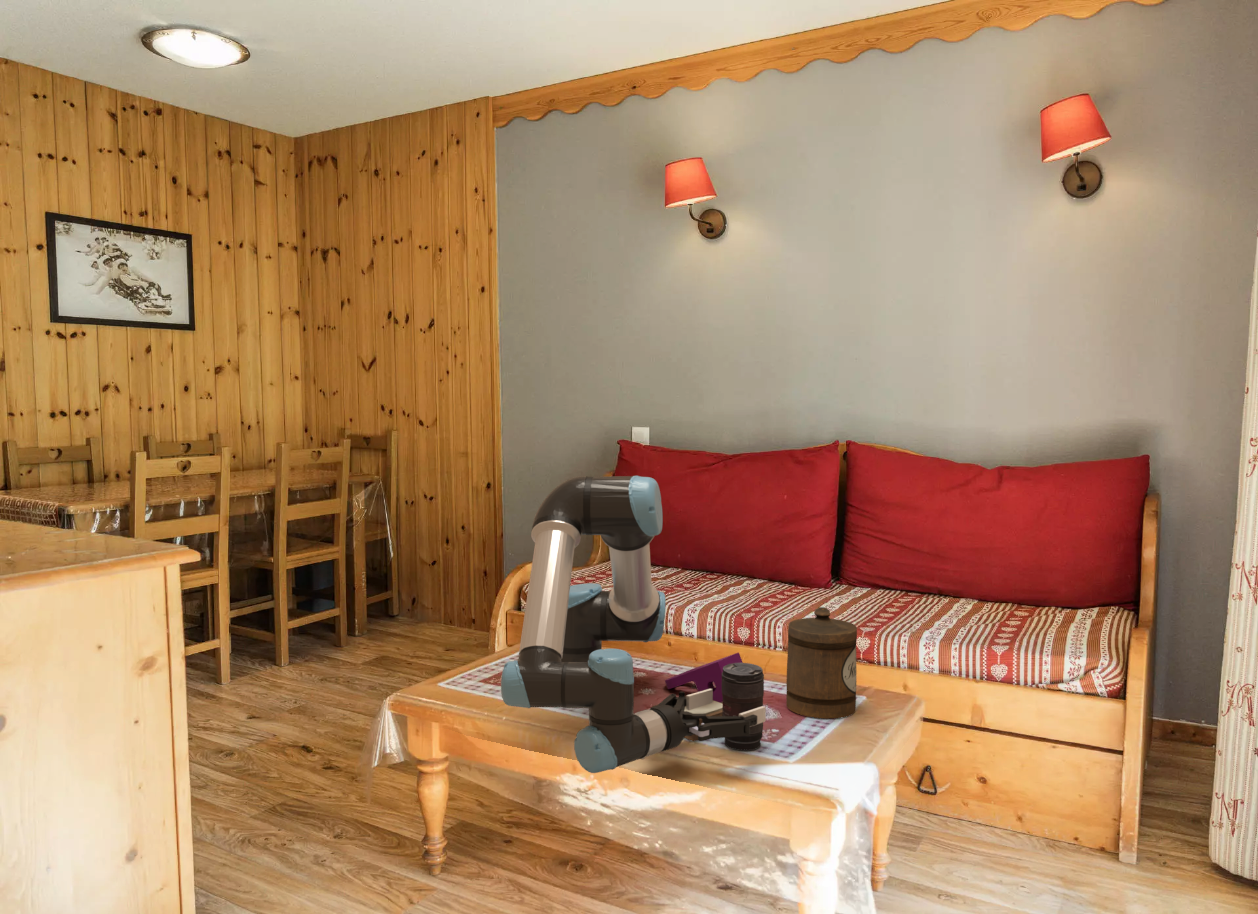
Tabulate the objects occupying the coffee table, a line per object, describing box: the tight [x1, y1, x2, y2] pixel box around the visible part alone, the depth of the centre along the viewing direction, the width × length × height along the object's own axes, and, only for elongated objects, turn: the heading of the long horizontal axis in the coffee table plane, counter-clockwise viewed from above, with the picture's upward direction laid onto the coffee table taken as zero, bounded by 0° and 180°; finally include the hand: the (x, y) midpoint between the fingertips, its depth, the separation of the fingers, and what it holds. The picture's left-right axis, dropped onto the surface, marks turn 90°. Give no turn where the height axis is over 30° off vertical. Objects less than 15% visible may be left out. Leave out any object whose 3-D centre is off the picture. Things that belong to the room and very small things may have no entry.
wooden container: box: [785, 606, 858, 720], centre depth 191 cm, size 15×15×22 cm
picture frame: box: [651, 700, 723, 742], centre depth 180 cm, size 12×12×4 cm
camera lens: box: [722, 662, 765, 751], centre depth 169 cm, size 8×8×15 cm
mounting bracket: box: [664, 652, 744, 703], centre depth 201 cm, size 9×8×18 cm
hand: (737, 704), depth 168 cm, fingers open, 13 cm apart
